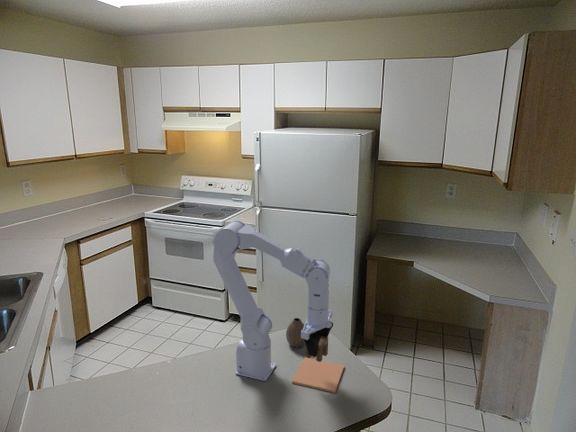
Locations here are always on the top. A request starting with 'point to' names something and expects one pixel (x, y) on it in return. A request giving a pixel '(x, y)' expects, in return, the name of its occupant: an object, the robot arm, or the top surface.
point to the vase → (295, 333)
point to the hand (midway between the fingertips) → (316, 350)
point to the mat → (319, 374)
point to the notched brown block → (320, 349)
